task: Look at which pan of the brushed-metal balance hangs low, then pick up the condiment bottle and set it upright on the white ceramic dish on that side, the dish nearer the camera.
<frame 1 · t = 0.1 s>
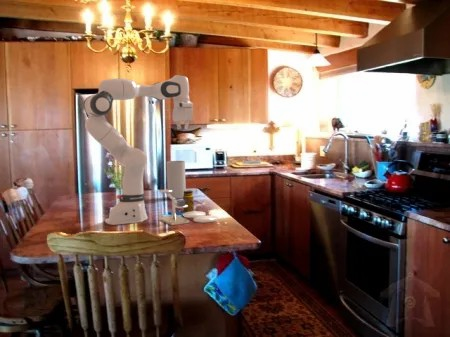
hand: (182, 129, 261), 48 cm above the kitchen island, tool pointing down, fingers open, 8 cm apart
near dish: (205, 219, 245), on the kitchen island
cylinder vase: (177, 197, 320), on the kitchen island
condiment: (187, 211, 270), on the kitchen island
balance: (174, 221, 244), on the kitchen island
far dish: (194, 215, 258), on the kitchen island
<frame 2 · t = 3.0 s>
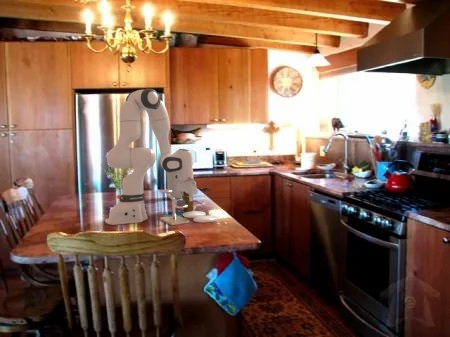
hand: (186, 200, 271), 6 cm above the kitchen island, tool pointing down, fingers open, 8 cm apart
nothing on the kitchen island moved.
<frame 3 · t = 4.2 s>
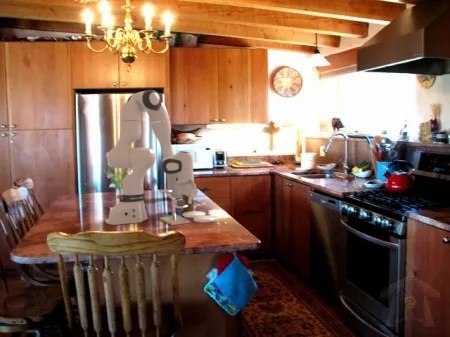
hand: (187, 202, 270), 5 cm above the kitchen island, tool pointing down, fingers closed on condiment, 6 cm apart
condiment: (187, 211, 270), on the kitchen island, touching gripper
everything else where it was.
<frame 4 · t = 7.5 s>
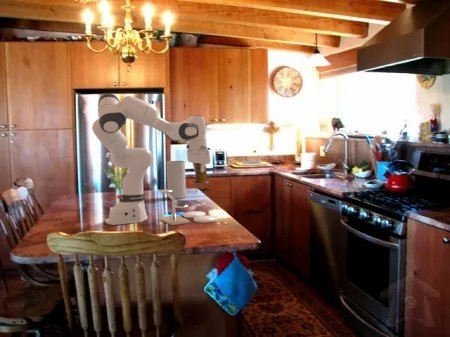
hand: (199, 171, 249), 25 cm above the kitchen island, tool pointing down, fingers closed on condiment, 6 cm apart
condiment: (199, 183, 250), point 19 cm above the kitchen island, touching gripper
everything else where it was.
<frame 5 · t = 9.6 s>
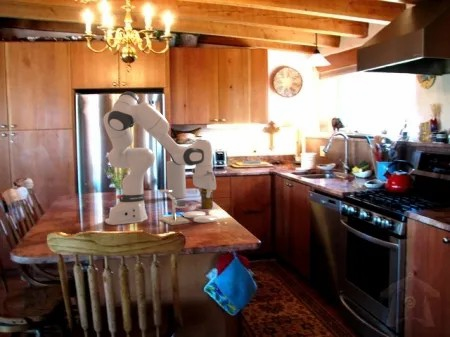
hand: (204, 196, 244), 12 cm above the kitchen island, tool pointing down, fingers closed on condiment, 6 cm apart
condiment: (205, 208, 245), point 6 cm above the kitchen island, touching gripper
everything else where it was.
when the fingers open (8 cm above the kitchen island, at t = 11.1 s): condiment stays where it is, resting on near dish.
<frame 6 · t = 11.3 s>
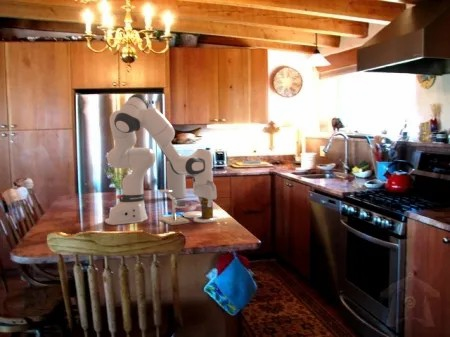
hand: (205, 205, 244), 8 cm above the kitchen island, tool pointing down, fingers open, 8 cm apart
condiment: (205, 218, 245), point 1 cm above the kitchen island, touching near dish
everything else where it was.
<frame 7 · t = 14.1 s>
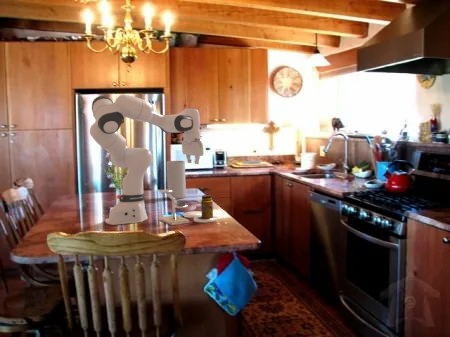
hand: (193, 163, 253), 29 cm above the kitchen island, tool pointing down, fingers open, 8 cm apart
nothing on the kitchen island moved.
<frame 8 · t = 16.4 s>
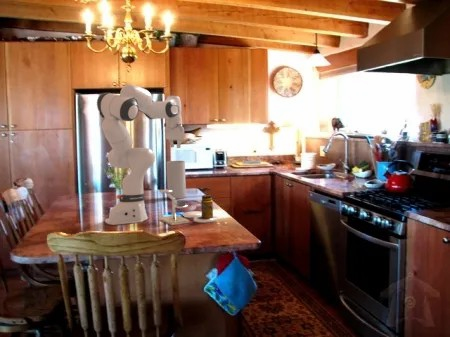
hand: (175, 147, 271), 37 cm above the kitchen island, tool pointing down, fingers open, 8 cm apart
nothing on the kitchen island moved.
at the end: condiment inside the target area on the near dish (0.1 cm from its centre), point 0.8 cm above the near dish's base; condiment tilted 0°; the gripper is holding nothing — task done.
